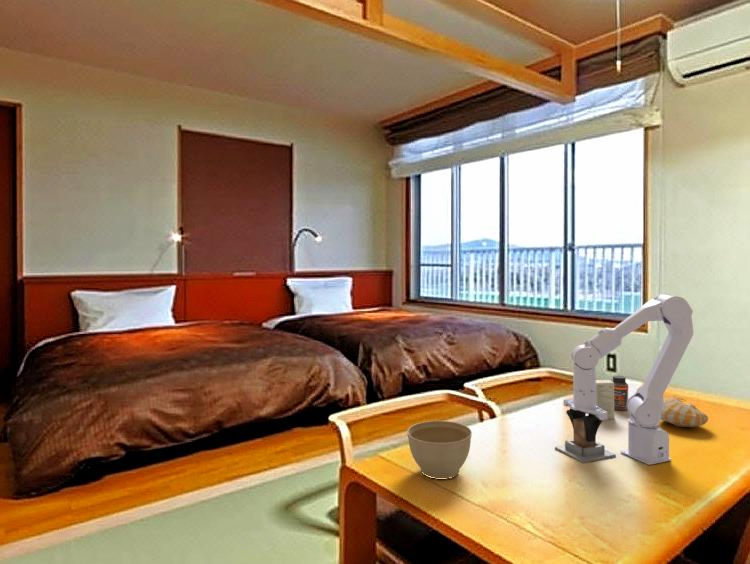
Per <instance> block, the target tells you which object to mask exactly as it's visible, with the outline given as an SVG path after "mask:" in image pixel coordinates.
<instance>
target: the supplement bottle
mask: <svg viewBox="0 0 750 564" xmlns="http://www.w3.org/2000/svg"><path fill="white" fill-rule="evenodd" d="M626 379H627V378H626V376H624V375H613V377H612V380H611V381H612V382H614V411H622V412H623V411H628V409H627V401H628V399H629V384H628V383H627V381H626Z"/></svg>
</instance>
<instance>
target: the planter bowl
mask: <svg viewBox="0 0 750 564" xmlns="http://www.w3.org/2000/svg"><path fill="white" fill-rule="evenodd" d="M406 431H407V432H406V433H407V438H408V446H409V451H410V453H411V456H412V458H413V460H414V461H415V463H416V464H417V465H418V467H419V468H420V471H422V472H423V473H424V474H426V475H428V476H431V477H435V478H449V477H453V476H456V475H457V474H458V473H459V474H460V469H461V468H462V467H463V465H464V464H465V462H466V460H467V458H468V456H469V452H470V448H471V442H472V441H471V439H472V430H471V428H469V427H468V426H466V425H465V424H461V423H459V422H456V421H450V420H426V421H423V422H419V423H415V424H413V425H411V426H409V428H408V429H407V430H406ZM422 472H421V473H422ZM459 474H458V475H459ZM458 475H457V476H458ZM457 476H456V477H457Z"/></svg>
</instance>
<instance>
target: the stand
mask: <svg viewBox="0 0 750 564" xmlns="http://www.w3.org/2000/svg"><path fill="white" fill-rule="evenodd" d="M564 442H565V443H564V444H563V445H556V446H554V449H555V450H557V451H558V452H561V453H562V454H565V455H566V456H567V457H568V456H569V457H570V458H573V459H574V460H576V461H578V462H579V463H582V464H585V463H591V462H594V461H595V462H596V461H601V460H604V459H610V458H611V459H612V458H615V457H616V455H617V454H616V453H614V452H612V451H609V450H606V449H605V444H604V445H603V444H601V443H599V442H597V441H596V446H593V447H588V448H582V447H580V446H578V445H576V444H574V439H569V440H565V441H564Z"/></svg>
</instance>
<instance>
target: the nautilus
mask: <svg viewBox="0 0 750 564" xmlns="http://www.w3.org/2000/svg"><path fill="white" fill-rule="evenodd" d="M684 401H685V402H687V399H683V398H678V397H676V396H673V397H671V398H670V397H666V398H663V402H664V404H663V407H662V409H661V420H660V421H664V422H667V423H669V424H671V425H673V426H675V427H684V428H685V427H686V428H687V427H688V428H694V427H701V426H703V425H705V424H706V423H707V422H708V421H709V417H708V415H707V414H706V413H704V412H703V411H701V410H700V409H698V407H696V406H695V405H694V404H692V403H683V402H684Z"/></svg>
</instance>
